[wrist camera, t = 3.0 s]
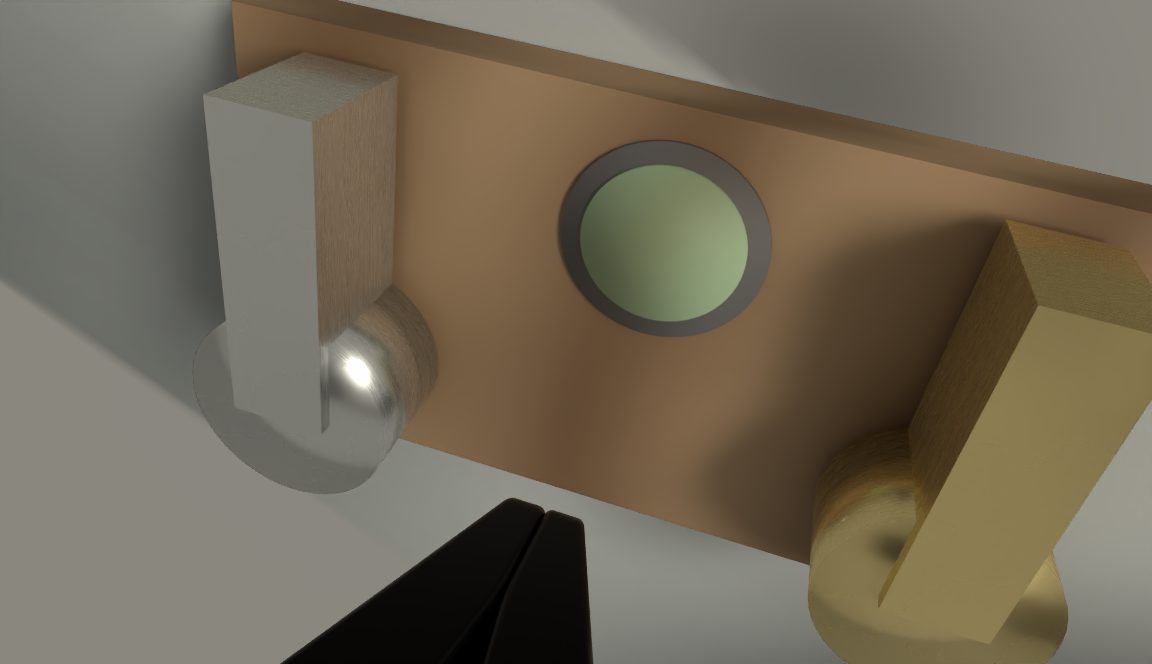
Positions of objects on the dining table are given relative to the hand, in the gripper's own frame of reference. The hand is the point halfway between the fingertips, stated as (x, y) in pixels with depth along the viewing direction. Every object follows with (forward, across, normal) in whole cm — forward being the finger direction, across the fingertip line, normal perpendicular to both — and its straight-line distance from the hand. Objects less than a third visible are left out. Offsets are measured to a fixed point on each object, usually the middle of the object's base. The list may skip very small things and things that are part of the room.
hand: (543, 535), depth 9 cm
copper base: (+9, 0, +2) cm, 9 cm away
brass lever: (+7, -6, +2) cm, 9 cm away
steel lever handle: (+7, +6, +2) cm, 10 cm away
